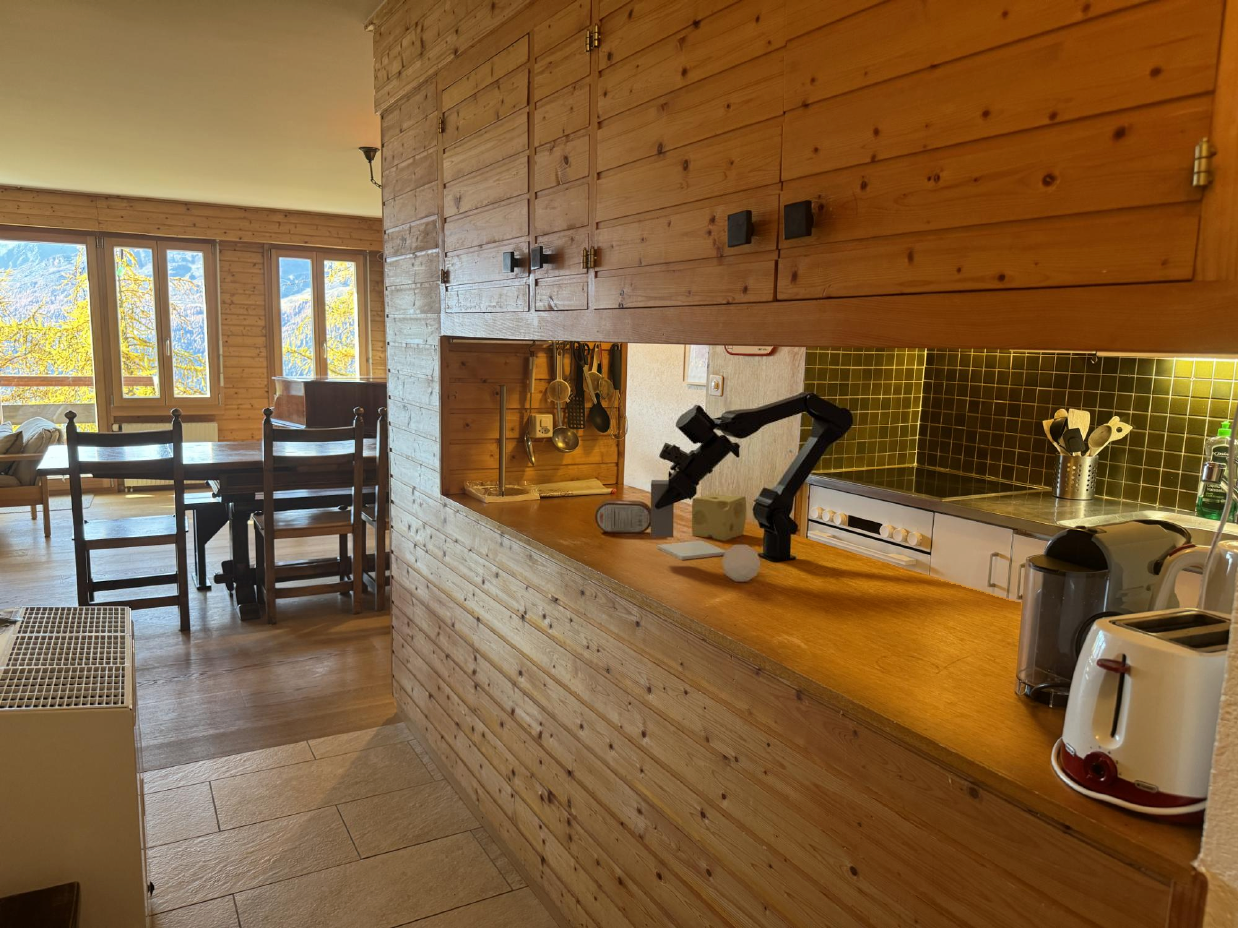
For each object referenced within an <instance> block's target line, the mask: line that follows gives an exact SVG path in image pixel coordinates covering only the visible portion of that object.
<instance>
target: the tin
mask: <svg viewBox="0 0 1238 928" xmlns="http://www.w3.org/2000/svg"><path fill="white" fill-rule="evenodd" d="M594 521H595V524H596V525H597V527H598V528H599V529H600V531H603V532H605V533H609V534H631V535H632V534H636V535H639V534H643V533H645V532H646V531H648V530H649V529H650V528H651V506H649V504H648V503H646V502H644V501H640V500H625V499H624V500H619V499H608V500H604V501H602V502H601V503H600V504H599V505H598V506H597V508H596V510H595V514H594Z"/></svg>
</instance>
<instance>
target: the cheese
mask: <svg viewBox="0 0 1238 928" xmlns="http://www.w3.org/2000/svg"><path fill="white" fill-rule="evenodd" d="M746 500H747V498H746V496H743V495H729V494H728V495H727V494H719V493H707V494H705V495H700V496H698V497H693V498H692V503H691V533H692V534H691V535H692V536H695V537H701V538H712V539H713V540H719V541H722V542H726V541H729V540H730V539H733V538H736V537H739V536H743V535H744V533H745V524H746V519H747V501H746Z"/></svg>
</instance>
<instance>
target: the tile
mask: <svg viewBox="0 0 1238 928" xmlns="http://www.w3.org/2000/svg"><path fill="white" fill-rule="evenodd" d="M656 548H657V549H658V550H659V551H662V552H664V553H665V554H669V555H670V556H672V557H674V558H676V559H678V560H680V561H682V560H683V561H684V560H692V559H699V558H700V559H701V558H709V557H718V556H724V554H725V551H726V550H725V549H722V548H720V547H717V546H715V545H713V544H710V543H707V542H706V541H703V540H694V541H684V542H675V543H673V542H672V543H664V544H657V547H656Z"/></svg>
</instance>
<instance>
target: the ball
mask: <svg viewBox="0 0 1238 928" xmlns="http://www.w3.org/2000/svg"><path fill="white" fill-rule="evenodd" d="M759 557H760V556H758V551H756V550H755V549H754V548H752V547H751V546H749V545H748V544H734V545H732V546H731V547H729V548H728V549H726V550H725V554H724V555H723V557H722V560H721V565H722V568H723V571H724V574H725V575H726V576H727V577H728V578H730V579H731V580H733V582H737V583H738V582H739V583H740V582H741V583H742V582H744V583H745V582H749V581H750V580H751V579H754V578H755V576H757V575H758V572H759V569H760V566H761V561H760V558H759Z"/></svg>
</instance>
